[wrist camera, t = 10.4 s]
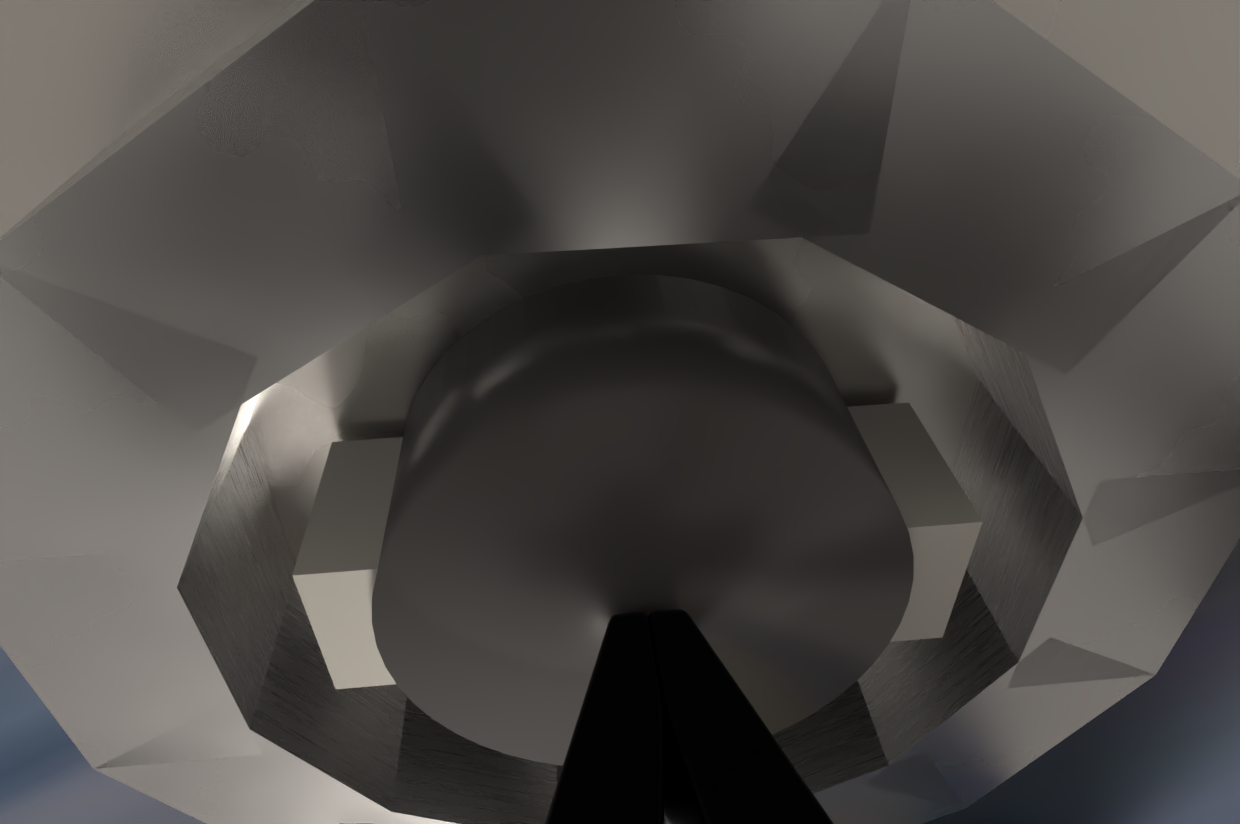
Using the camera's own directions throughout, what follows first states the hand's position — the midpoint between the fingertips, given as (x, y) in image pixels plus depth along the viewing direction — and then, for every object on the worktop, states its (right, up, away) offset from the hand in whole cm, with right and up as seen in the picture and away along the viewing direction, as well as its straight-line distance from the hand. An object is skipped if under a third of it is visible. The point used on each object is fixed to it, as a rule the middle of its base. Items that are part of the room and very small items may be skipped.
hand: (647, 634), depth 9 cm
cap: (0, +2, +2) cm, 3 cm away
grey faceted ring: (0, +2, +3) cm, 3 cm away
